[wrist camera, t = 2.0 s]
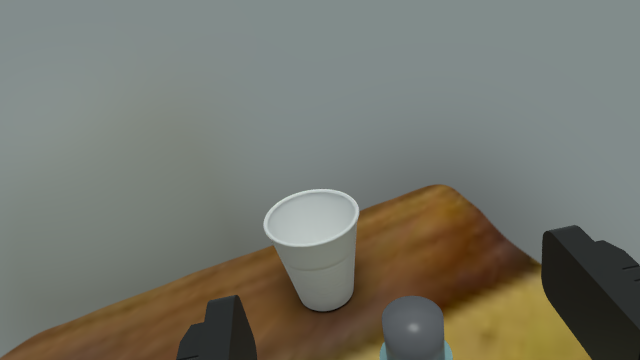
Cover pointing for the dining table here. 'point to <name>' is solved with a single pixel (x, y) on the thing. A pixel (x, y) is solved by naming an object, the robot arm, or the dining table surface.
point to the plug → (414, 331)
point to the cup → (316, 244)
